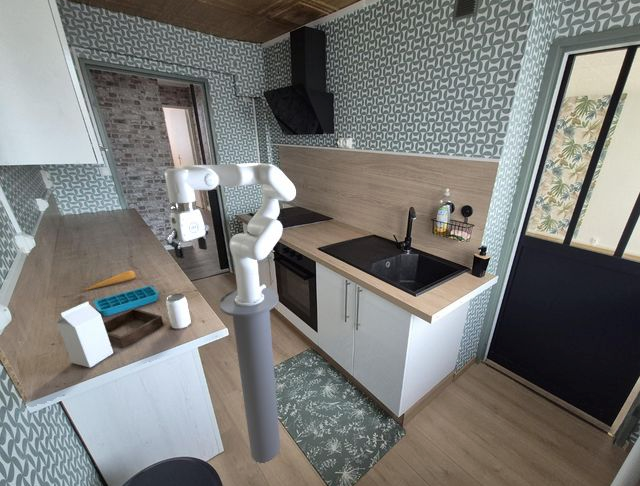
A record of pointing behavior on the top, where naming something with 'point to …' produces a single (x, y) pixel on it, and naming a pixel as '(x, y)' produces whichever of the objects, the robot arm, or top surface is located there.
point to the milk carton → (84, 335)
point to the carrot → (115, 279)
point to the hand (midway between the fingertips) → (192, 253)
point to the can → (178, 311)
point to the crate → (127, 339)
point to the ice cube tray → (126, 300)
